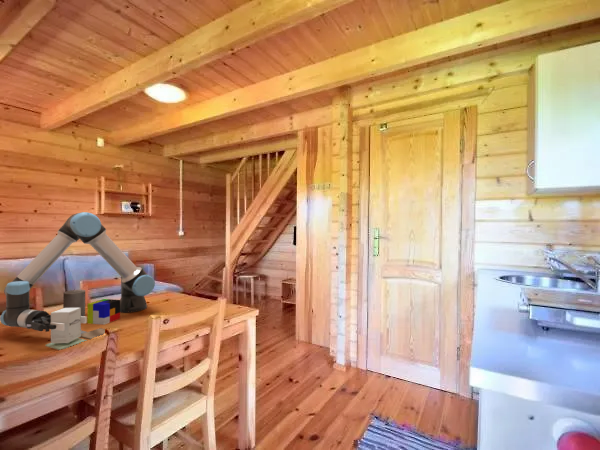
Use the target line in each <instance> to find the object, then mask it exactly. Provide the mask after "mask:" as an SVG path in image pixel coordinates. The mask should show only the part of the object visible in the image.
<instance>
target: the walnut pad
mask: <svg viewBox="0 0 600 450" xmlns="http://www.w3.org/2000/svg"><path fill="white" fill-rule="evenodd" d="M105 329H106V328H102V327H101V328H97V329H92V330H90V331H86V333H83V334H81V337H80V338H81V339H85V340H90V339H92V338H94V337H97V336H100V335H103V334H104V333H105Z"/></svg>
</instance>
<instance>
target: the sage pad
mask: <svg viewBox="0 0 600 450" xmlns="http://www.w3.org/2000/svg"><path fill="white" fill-rule="evenodd" d="M87 340H88V339H85V338H81V337H79V338H77V339H75V340H73V341H71V342H69V343H51V342H49V343H46V344H45V347H47V348H50V349H54V350H57V351H62V350H65V349H69V348H70V346H71V347H74V346H77V345H80V344H82V343H81V342H84V341H87ZM79 343H80V344H79ZM84 343H85V342H84ZM76 344H77V345H76ZM73 345H74V346H73ZM61 349H62V350H61Z"/></svg>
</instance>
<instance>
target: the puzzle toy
mask: <svg viewBox="0 0 600 450" xmlns="http://www.w3.org/2000/svg"><path fill="white" fill-rule="evenodd" d="M86 311H87V316H86V317H87V323H86V324H90V325H106V324H109V323H112V322H114V321H117V320H120V319H121V312H120V299H113V298H112V299H111V298H110V299H109V298H104V299H100V300H95V301H92V302H89V303H87V310H86Z"/></svg>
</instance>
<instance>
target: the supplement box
mask: <svg viewBox="0 0 600 450" xmlns="http://www.w3.org/2000/svg"><path fill="white" fill-rule="evenodd" d="M50 315H51V322H55V323H64V324H65V330H64V331H59V330H50V343H69V342H71V341H73V340H75V339H77V338H82V337H81V330H82V323H81V308H63V307H62V308H61V309H58V310H55V311H51V312H50Z"/></svg>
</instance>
